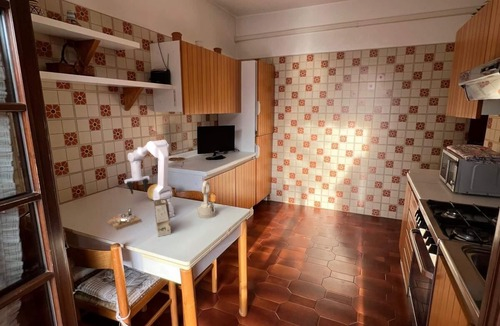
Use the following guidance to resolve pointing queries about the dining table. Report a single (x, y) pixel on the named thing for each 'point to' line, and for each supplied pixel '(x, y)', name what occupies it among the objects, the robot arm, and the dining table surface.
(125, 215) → the sprocket
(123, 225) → the index board
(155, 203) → the coffee box
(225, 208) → the dining table surface
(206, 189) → the engine component
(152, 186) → the sculpture
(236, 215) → the dining table surface
